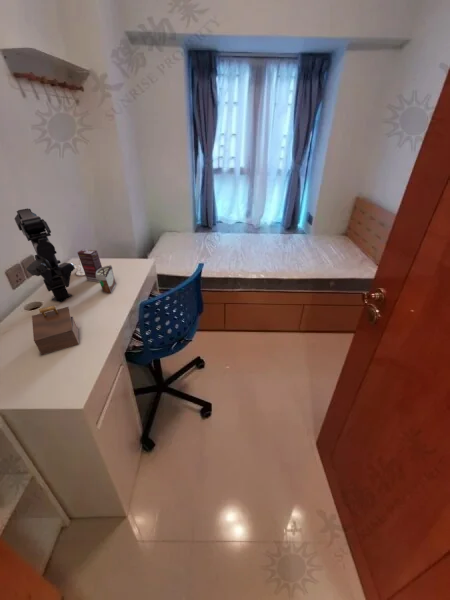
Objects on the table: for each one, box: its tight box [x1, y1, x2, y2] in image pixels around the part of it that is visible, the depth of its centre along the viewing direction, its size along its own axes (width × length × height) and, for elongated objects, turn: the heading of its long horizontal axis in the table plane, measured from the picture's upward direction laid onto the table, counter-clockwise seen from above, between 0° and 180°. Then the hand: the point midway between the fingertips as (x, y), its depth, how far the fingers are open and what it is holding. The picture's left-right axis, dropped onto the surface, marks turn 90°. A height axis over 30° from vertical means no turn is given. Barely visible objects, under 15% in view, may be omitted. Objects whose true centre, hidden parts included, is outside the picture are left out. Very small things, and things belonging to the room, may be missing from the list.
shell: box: [68, 255, 86, 276], centre depth 153 cm, size 9×12×9 cm
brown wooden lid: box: [31, 304, 73, 343], centre depth 101 cm, size 11×12×5 cm
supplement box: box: [76, 248, 103, 283], centre depth 144 cm, size 9×5×16 cm, turn 71°
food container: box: [96, 264, 117, 294], centre depth 136 cm, size 12×6×10 cm, turn 5°
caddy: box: [34, 315, 80, 356], centre depth 105 cm, size 10×12×6 cm
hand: (59, 285), depth 117 cm, fingers open, 9 cm apart
